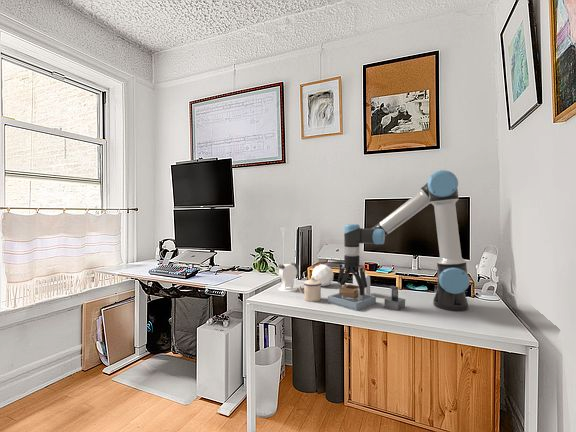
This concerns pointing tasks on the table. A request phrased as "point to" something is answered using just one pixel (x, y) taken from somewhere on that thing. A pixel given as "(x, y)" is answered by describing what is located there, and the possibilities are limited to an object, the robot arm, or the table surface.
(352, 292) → the walnut ring
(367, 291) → the photo printer
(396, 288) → the metal stake
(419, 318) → the table surface
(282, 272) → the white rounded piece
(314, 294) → the teacup with lid
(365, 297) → the slate tray
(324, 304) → the table surface
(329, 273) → the geodesic sphere
